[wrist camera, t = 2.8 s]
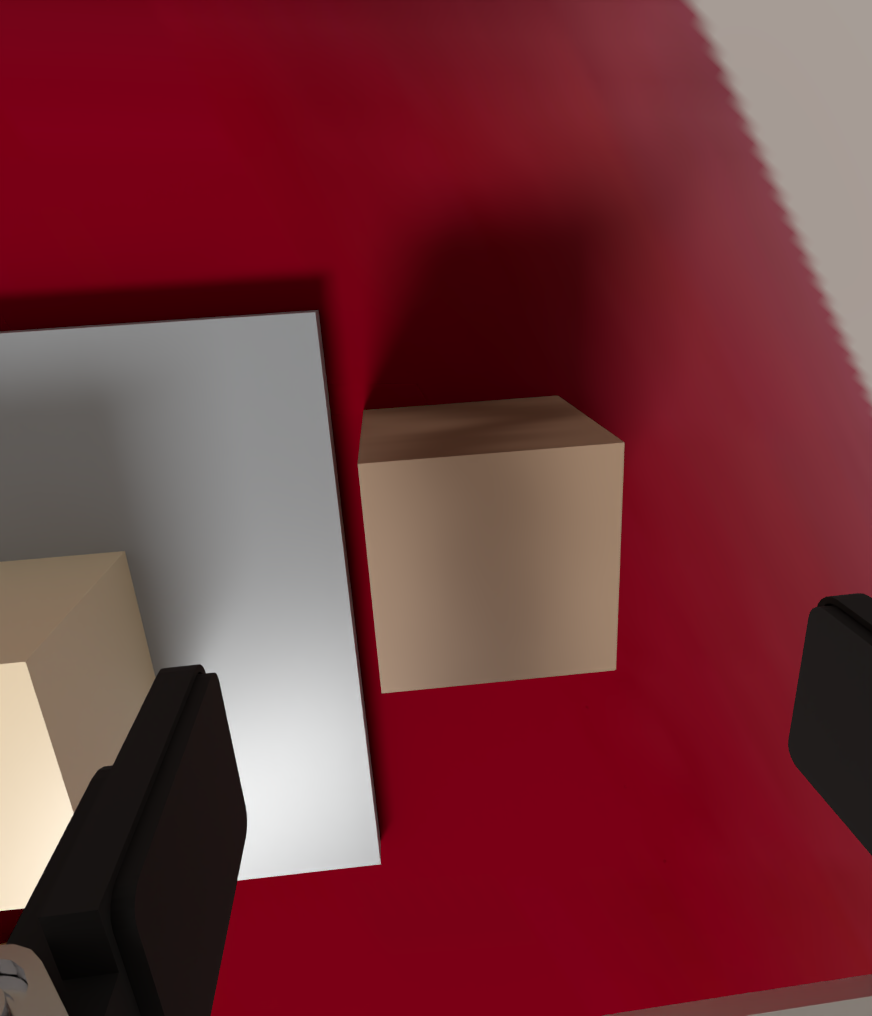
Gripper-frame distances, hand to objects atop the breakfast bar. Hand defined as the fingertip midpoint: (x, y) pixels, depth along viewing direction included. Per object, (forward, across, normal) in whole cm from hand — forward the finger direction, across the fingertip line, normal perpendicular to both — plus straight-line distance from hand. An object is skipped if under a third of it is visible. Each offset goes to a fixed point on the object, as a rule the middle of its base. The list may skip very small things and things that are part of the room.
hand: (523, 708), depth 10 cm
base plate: (+12, +13, +5) cm, 18 cm away
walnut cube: (+12, -1, +1) cm, 12 cm away
